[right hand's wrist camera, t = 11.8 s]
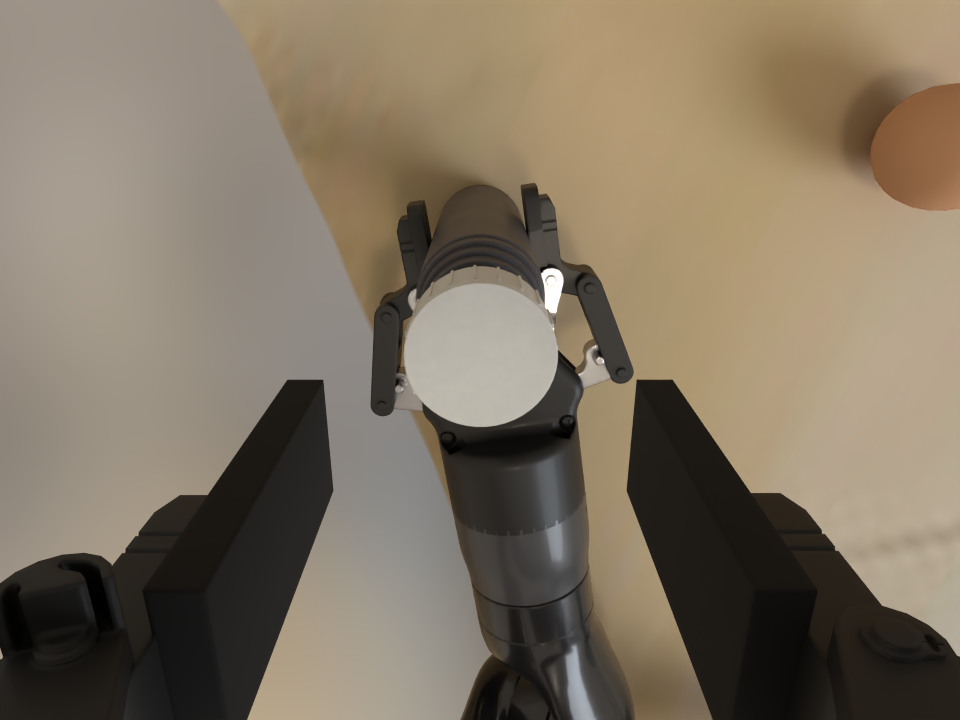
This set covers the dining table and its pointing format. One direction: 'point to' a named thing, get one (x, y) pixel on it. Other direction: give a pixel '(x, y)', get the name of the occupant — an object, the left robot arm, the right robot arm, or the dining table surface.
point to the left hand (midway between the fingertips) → (471, 196)
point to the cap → (480, 347)
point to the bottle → (480, 239)
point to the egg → (921, 150)
